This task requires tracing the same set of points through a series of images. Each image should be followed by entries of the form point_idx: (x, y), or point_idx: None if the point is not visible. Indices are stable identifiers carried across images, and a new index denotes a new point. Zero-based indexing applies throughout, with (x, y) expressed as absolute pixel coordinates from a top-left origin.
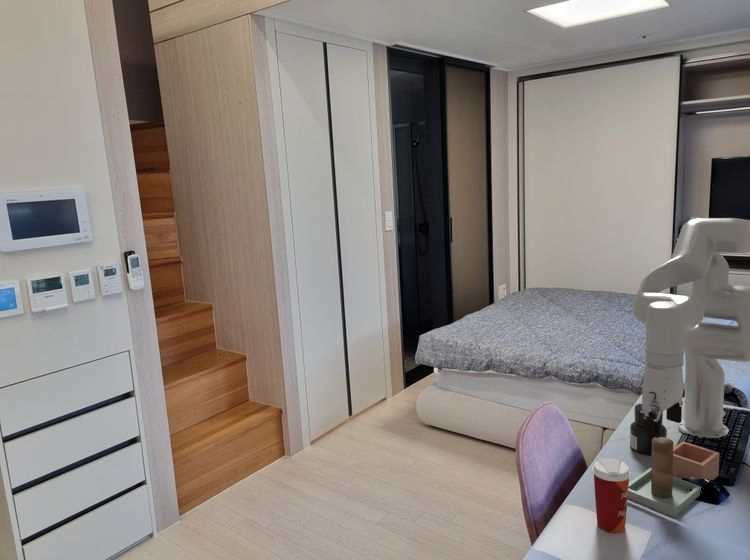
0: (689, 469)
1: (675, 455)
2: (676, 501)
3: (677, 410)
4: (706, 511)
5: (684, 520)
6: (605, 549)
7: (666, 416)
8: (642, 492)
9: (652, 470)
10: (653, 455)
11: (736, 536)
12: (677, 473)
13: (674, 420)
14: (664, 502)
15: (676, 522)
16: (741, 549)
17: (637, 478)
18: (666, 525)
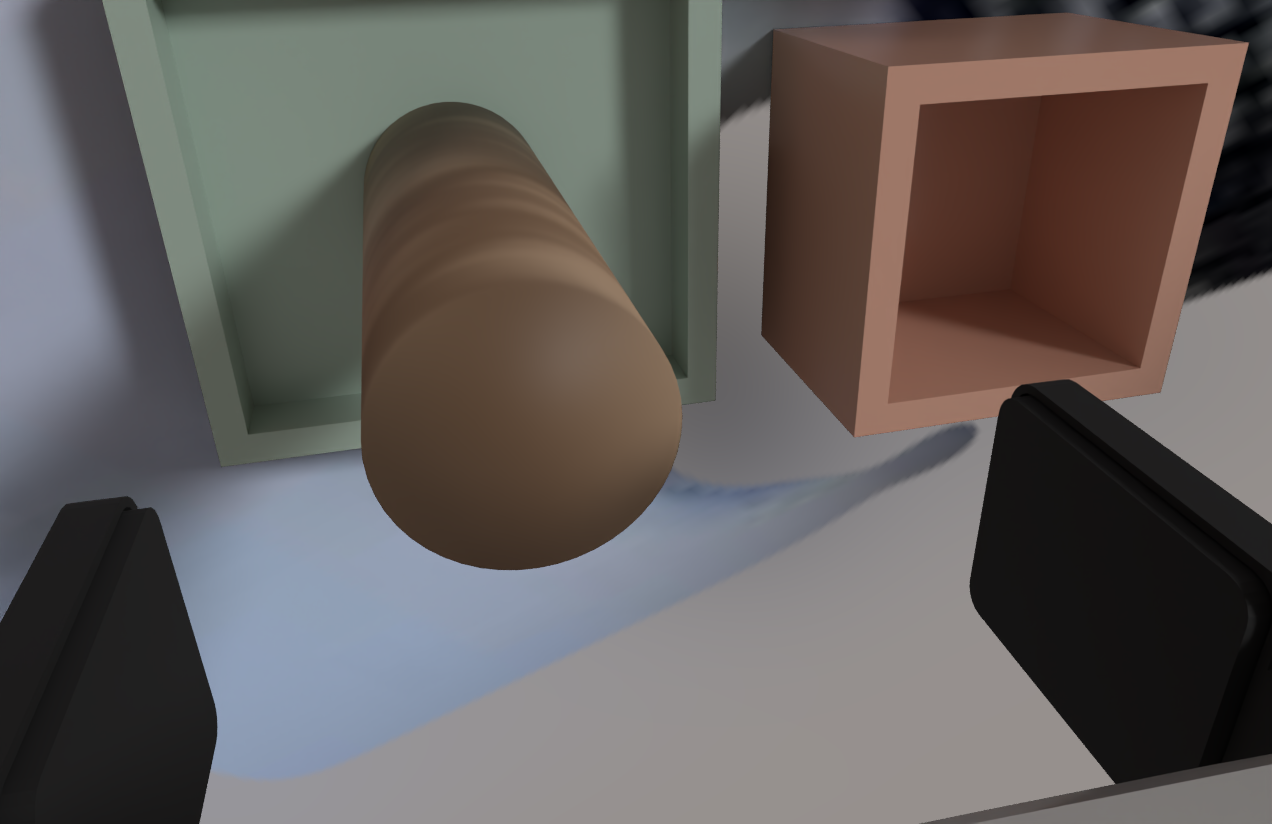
0: (826, 289)
1: (895, 168)
2: None
3: (1131, 749)
4: None
5: (288, 467)
6: None
7: (1053, 402)
8: (322, 67)
9: (380, 209)
10: (370, 298)
11: (404, 703)
12: (798, 160)
13: (992, 540)
14: (339, 288)
15: (211, 451)
16: (303, 773)
17: None
18: (104, 435)
